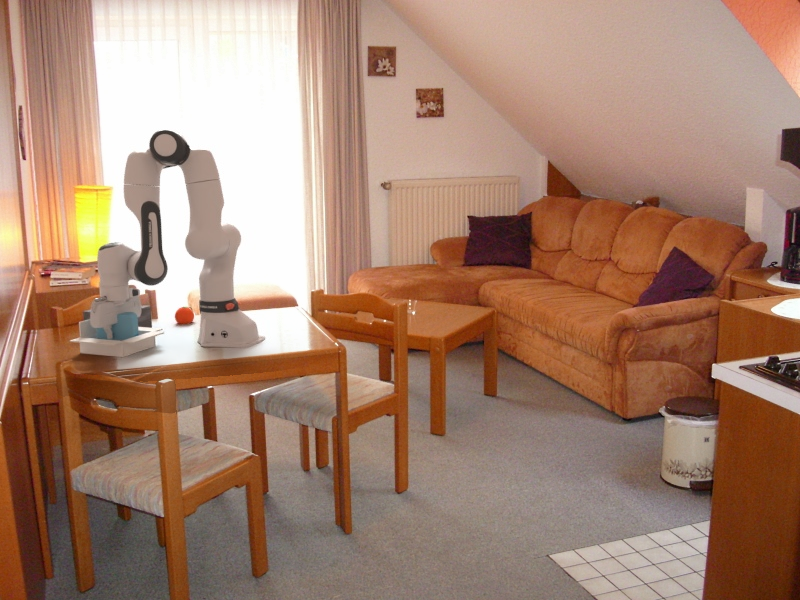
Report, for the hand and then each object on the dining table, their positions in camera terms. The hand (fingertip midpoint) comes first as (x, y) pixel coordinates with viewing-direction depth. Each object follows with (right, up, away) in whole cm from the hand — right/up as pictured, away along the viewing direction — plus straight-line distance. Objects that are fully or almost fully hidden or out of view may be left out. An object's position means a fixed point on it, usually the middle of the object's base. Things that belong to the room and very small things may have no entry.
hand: (118, 336), depth 255 cm
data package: (0, -5, +1) cm, 5 cm away
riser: (-9, 0, +25) cm, 27 cm away
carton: (+2, -4, 0) cm, 5 cm away
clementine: (+11, +2, +38) cm, 40 cm away
